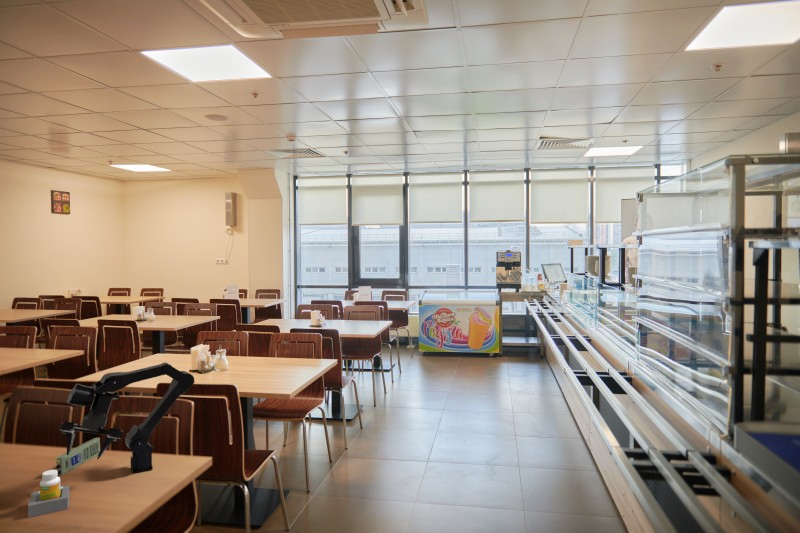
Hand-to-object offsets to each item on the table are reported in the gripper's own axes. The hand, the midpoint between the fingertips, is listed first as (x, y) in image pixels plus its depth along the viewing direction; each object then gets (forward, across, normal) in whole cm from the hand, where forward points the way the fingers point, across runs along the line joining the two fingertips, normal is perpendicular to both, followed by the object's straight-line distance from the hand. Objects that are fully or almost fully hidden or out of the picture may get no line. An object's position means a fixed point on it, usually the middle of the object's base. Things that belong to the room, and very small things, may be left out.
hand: (82, 457), depth 172 cm
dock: (+15, -4, -4) cm, 16 cm away
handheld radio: (+3, -6, +26) cm, 27 cm away
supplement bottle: (+14, -4, -4) cm, 15 cm away
